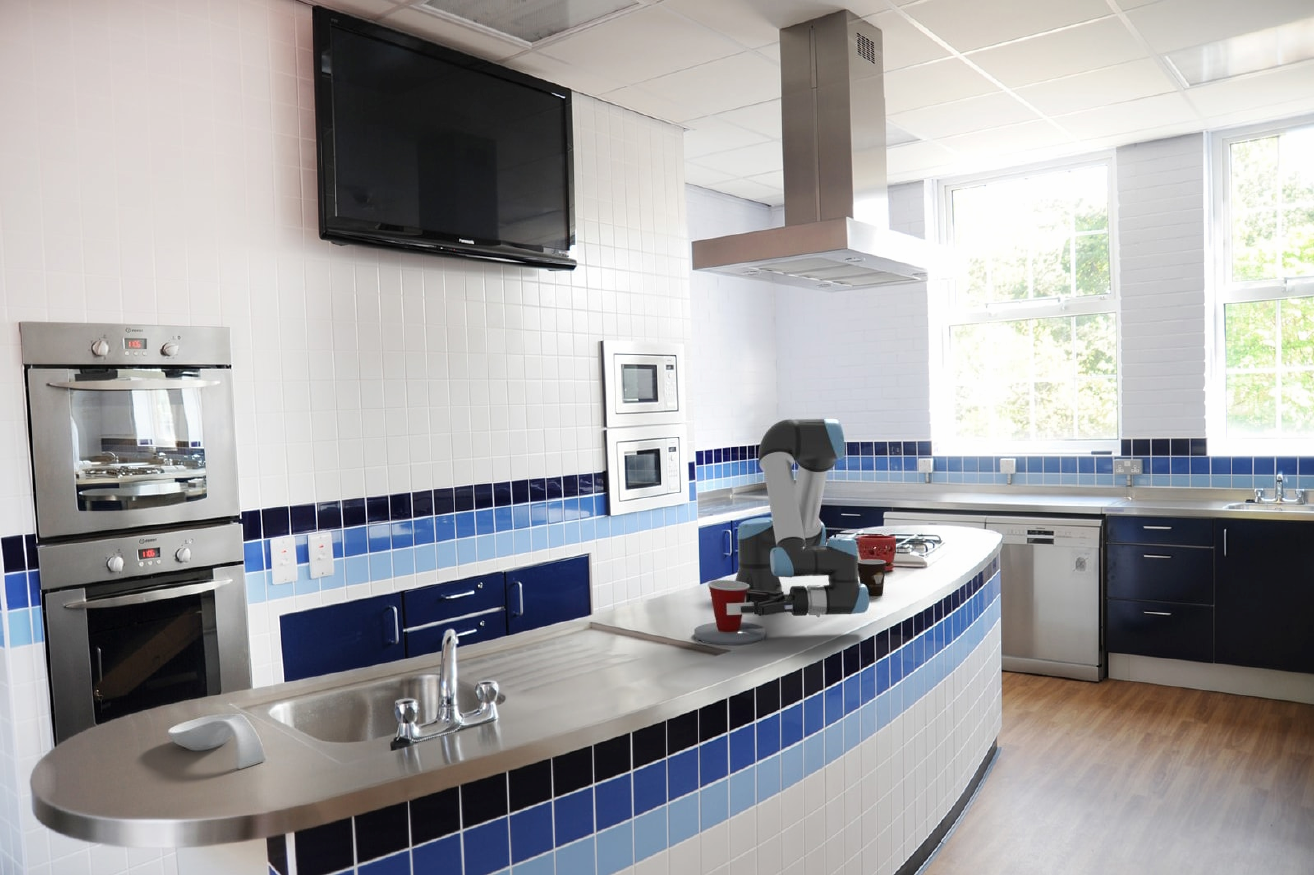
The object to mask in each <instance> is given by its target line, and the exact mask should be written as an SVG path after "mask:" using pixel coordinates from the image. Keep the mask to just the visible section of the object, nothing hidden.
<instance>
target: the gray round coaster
mask: <svg viewBox="0 0 1314 875" xmlns="http://www.w3.org/2000/svg"><path fill="white" fill-rule="evenodd" d="M693 634H694V639H696V640H697V639H699V640H701V641H700V642H702V641H704V642H703V643H706V642H708V643H707V644H711V643H712V644H711V645H721V644H737V645H746V644H747V645H748V644H753V643H756V641H757V642H759V640H760V641H762V640H764V639H765V637H766V628H765V627H764V626H762V625H759V624H756V623H751V622H744V621H743V622H742V621H741V626H740V630H738V631H734V632H723V631H719V630H718V628H717V625H716V622H710V623H709V622H708V623H705V624H702V625H701V624H700V625H698V626H696V627H695V628H694V633H693ZM761 639H762V640H761ZM699 640H698V641H699ZM752 642H753V643H752Z"/></svg>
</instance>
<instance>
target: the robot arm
mask: <svg viewBox="0 0 1314 875" xmlns="http://www.w3.org/2000/svg"><path fill="white" fill-rule="evenodd" d="M765 432H766V433H765V434H764V435H763V438H761V441H760V444H759V447H758V454H757V455H758V465H759V468H760V469H761V471H763V473H764V479H765V485H766V490H767V496H768V501H769V509H770V510H769V511H770V515H771V517H770V516H768V517H758V518H752V519H747V520H744V521H741V522H740V523H739V524H738V527H737V537H736V538H737V553H738V554H737V556H738V557H737V558H738V559H737V560H738V562H737V563H738V570H737V573H736V576H735V580H734V581H739V582H743V583H746V584H749V586H750V587H749V588H748V590H747V593H746V597H745V601H744V603H727V615H741V614H742V615H757V617H763V616H771V615H775V614H776V615H777V614H783V613H791V615H792V616H793V617H804V616H805V617H806V616H807V615H809V616H816V618H820V617H821V615H822V616H826V615H827V616H828V615H829V616H830V615H852V614H853V615H854V614H863V613H864V614H865V613H866V612H867V611H868V609H869V606H870V596H869V595H868V589H867V587H866V585H864V584H860V580H859V572H858V561H859V559H858V557H859V552H858V543H857V541H856V539H855V538H852V537H846V536H845V537H841V536H840V537H839V536H838V537H830V538H828V539H827V531H826V526H825V524H824V522H823V521H821V519H820V512H821V506H822V502H823V497H824V492H825V488H826V483H827V477H828V472H829V471H831V470H832V469H833V468H834V466H835V464H836V462H837V461H840V460H843V459H844V458H845V453H846V446H845V445H846V443H845V435H844V430H843V427H842V424H841V423H840V421H839V420H838V419H835V418H826V417H825V418H824V417H823V418H805V419H804V418H802V419H791V418H790V419H783V420H781V421H778V422H776V423H774V424H772V426H771V427H769V429H768V430H767V431H765ZM836 460H837V461H836ZM794 463H796V464H797V465H798V469H797V474H796V479H795V478H794V474H793V468H792V467H793V465H794ZM809 576H811V577H817V576H818V577H820V576H821V577H822V576H824V577H825V576H827V577H828V584H815V585H814V584H812V585H807V586H806V587H805V585H792V586H790V589H789V593H788V594H786V593H784V591H783V587H782V582H781V580H780V578H790V579H791V578H794V577H795V578H796V577H797V578H798V577H809Z"/></svg>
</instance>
